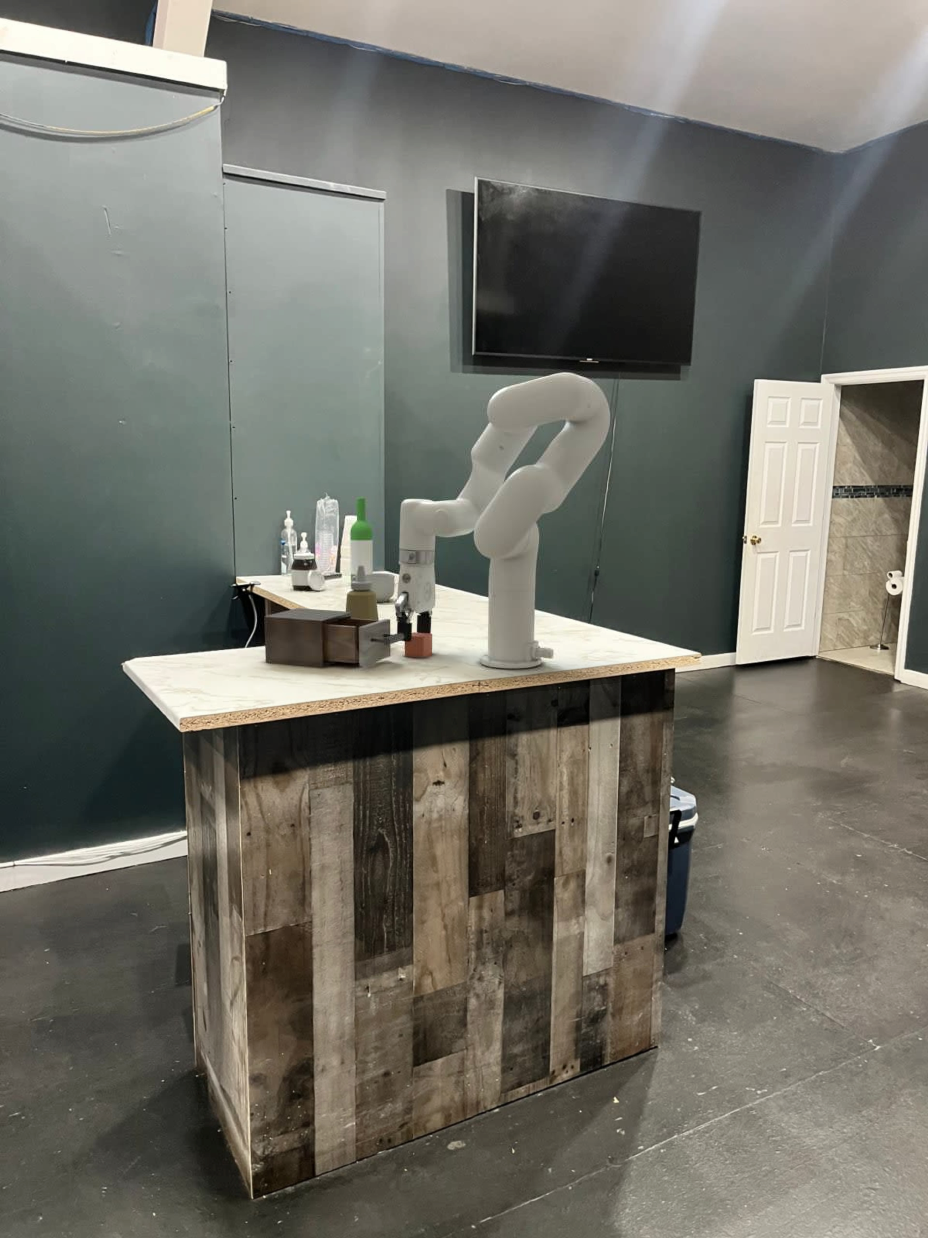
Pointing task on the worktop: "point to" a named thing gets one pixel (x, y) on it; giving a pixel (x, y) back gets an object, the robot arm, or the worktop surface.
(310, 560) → the spread jar
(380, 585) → the teacup
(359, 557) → the wine bottle
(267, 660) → the cabinet
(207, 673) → the worktop surface
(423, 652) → the block
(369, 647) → the drawer
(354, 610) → the squeeze bottle
